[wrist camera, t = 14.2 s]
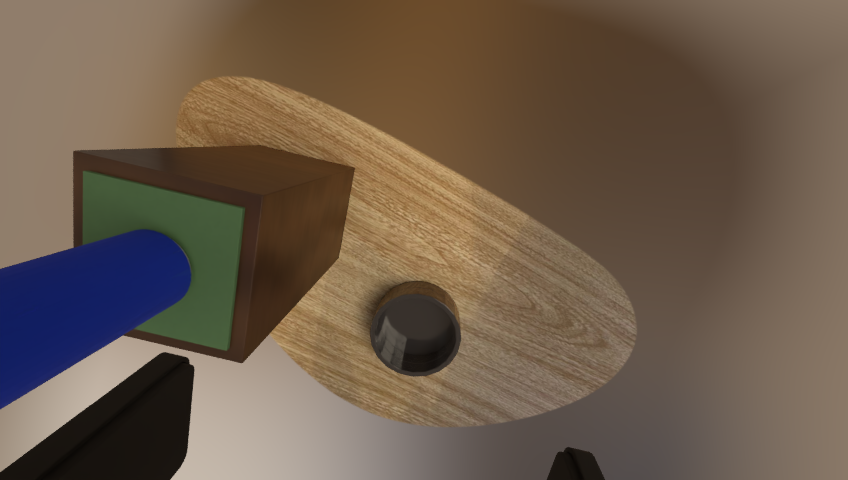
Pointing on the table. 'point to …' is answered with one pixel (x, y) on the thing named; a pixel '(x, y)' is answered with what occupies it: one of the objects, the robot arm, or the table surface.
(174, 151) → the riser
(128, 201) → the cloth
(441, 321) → the bowl
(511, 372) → the table surface
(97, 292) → the beverage can
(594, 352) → the table surface
